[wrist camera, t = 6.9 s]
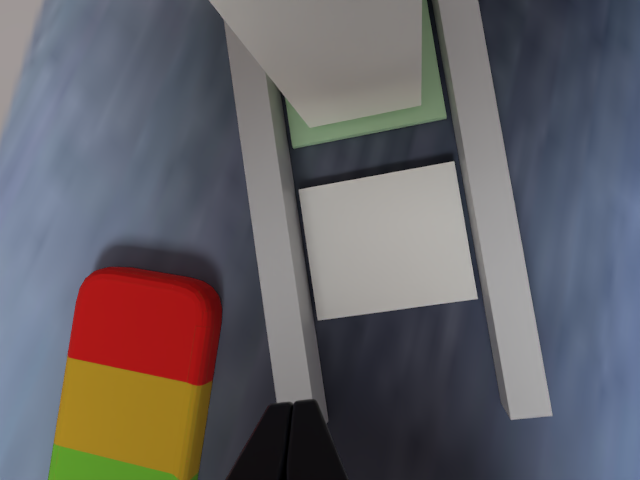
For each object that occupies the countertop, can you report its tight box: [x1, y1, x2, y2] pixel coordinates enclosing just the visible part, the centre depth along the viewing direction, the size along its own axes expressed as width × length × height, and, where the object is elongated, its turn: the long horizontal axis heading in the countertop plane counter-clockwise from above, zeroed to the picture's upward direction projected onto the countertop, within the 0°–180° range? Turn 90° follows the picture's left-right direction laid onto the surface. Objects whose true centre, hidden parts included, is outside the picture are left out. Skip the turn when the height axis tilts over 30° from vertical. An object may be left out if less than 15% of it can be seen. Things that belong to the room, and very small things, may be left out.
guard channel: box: [224, 0, 553, 424], centre depth 18 cm, size 16×8×2 cm, turn 9°
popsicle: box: [48, 267, 222, 480], centre depth 20 cm, size 6×15×2 cm, turn 172°
